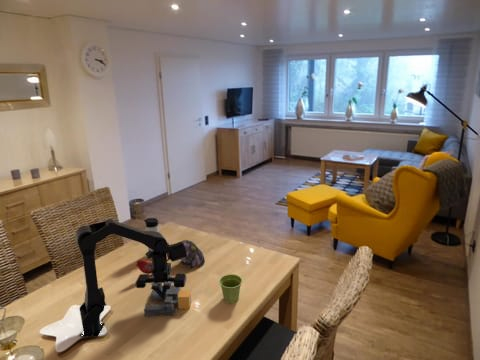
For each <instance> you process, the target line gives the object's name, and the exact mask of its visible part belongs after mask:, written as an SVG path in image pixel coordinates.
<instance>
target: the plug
mask: <svg viewBox="0 0 480 360" xmlns="http://www.w3.org/2000/svg"><path fill="white" fill-rule="evenodd" d="M164 304H174V307H175V308H178V309H179V310H190V309H191V305H192V290H190V289H187V290H186V289H180V291H179V294H178V300H173V297H166V299H165V300H164Z"/></svg>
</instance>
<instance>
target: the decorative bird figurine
mask: <svg viewBox="0 0 480 360" xmlns="http://www.w3.org/2000/svg"><path fill="white" fill-rule="evenodd" d="M168 261H169V260H168V258H167V262H168ZM134 267H137V269H138V270H139V271H140V272H141V273H142V274H149V275H150V278H151V277H152V276H153V273H152V270H153V268H152V260H148V261H147V260H145V259H138V260H137V261H136V264H135V266H134Z"/></svg>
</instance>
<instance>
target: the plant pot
mask: <svg viewBox="0 0 480 360" xmlns="http://www.w3.org/2000/svg"><path fill="white" fill-rule="evenodd" d="M218 282H219V283H218V284H219V285H220V287H221V292H222V296H223V301H224V302H225V303H227V304H233V303H237V302H238V301H239V299H240V291H241V286H242V284H243V278H242V277H241V276H240V275H238V274H235V273H232V274H231V273H229V274H224V275H223V276H221V277H220V278H219V280H218Z"/></svg>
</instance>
